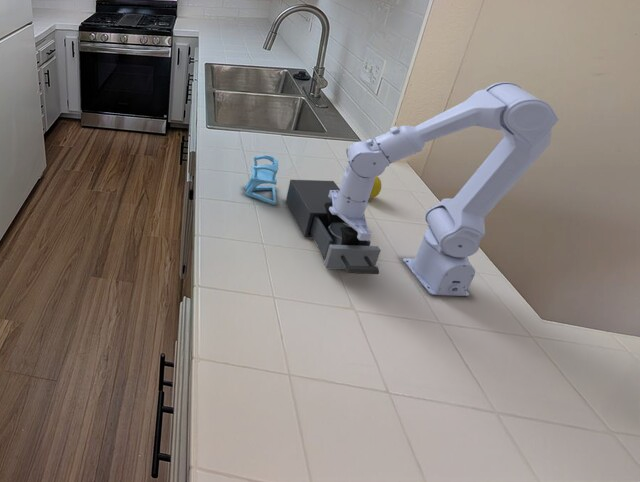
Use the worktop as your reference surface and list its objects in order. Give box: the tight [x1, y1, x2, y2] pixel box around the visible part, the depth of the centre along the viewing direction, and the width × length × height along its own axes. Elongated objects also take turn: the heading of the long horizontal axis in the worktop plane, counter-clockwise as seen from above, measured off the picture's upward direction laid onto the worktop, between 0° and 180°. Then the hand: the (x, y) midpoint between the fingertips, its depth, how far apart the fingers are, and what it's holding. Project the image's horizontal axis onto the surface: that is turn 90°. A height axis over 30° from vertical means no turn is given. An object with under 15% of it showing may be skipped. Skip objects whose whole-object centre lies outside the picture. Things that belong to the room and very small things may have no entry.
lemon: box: [369, 176, 382, 199], centre depth 108 cm, size 6×6×8 cm
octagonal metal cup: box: [327, 222, 350, 245], centre depth 88 cm, size 6×6×5 cm
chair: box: [244, 154, 279, 206], centre depth 108 cm, size 8×8×12 cm
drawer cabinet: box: [285, 179, 340, 239], centre depth 99 cm, size 14×12×8 cm
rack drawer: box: [309, 215, 381, 275], centre depth 87 cm, size 17×10×6 cm, turn 178°
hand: (339, 241), depth 89 cm, fingers closed on octagonal metal cup, 6 cm apart
